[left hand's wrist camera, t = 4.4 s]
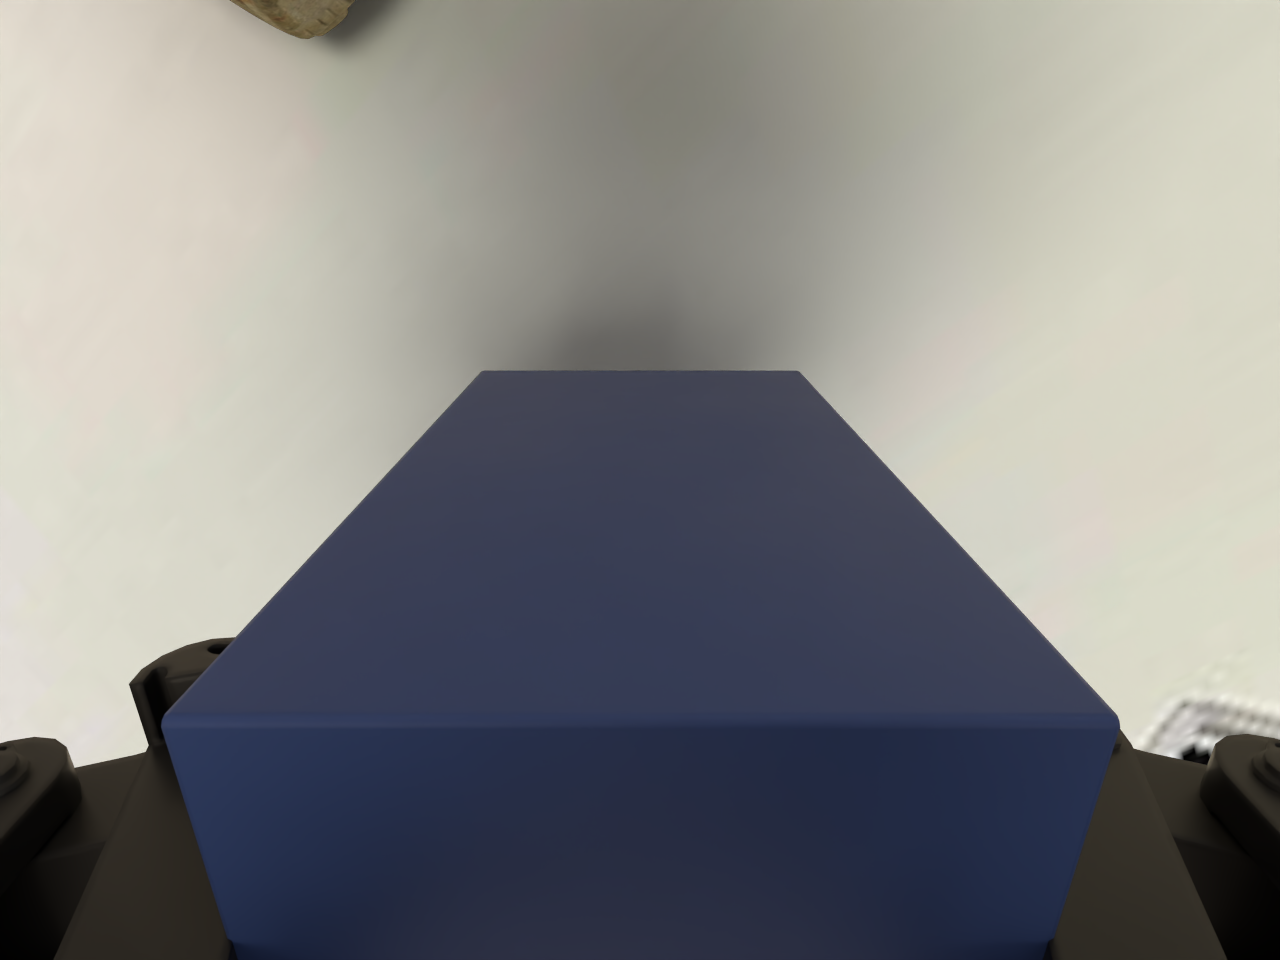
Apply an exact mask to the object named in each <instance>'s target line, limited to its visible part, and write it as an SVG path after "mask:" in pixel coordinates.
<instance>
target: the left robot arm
mask: <svg viewBox="0 0 1280 960" xmlns="http://www.w3.org/2000/svg"><path fill="white" fill-rule="evenodd" d="M235 638H236V637H234V638H219V639H210V640H206V641H202V642H198V643H194V644H190V645H186V646H184V647H182V648H179V649H177V650H175V651H172V652H170V653H168V654H165V655H163V656H161V657H160V658H158V659H157V660H155V661H154V662H152V663H151V664H149V665H147V666H146V667H144V668H143V669H142V670H141V671H140V672H139V673H138V674H137V675H136V677H135V678H134V679H133V680H132V681H131V682H130V683H129V686H130V689H131V692H132V695H133V698H134V701H135V704H136V707H137V710H138V713H139V716H140V720H141V723H142V726H143V729H144V732H145V735H146V738H147V741H148V744H149V746H148V748H147V750H146V752H144V753H140V754H137V755H133V756H128V757H123V758H119V759H114V760H109V761H105V762H100V763H95V764H91V765H86V766H82V767H77V768H74V765H73V763H72V760H71V758H70V755H69V752H68V750H67V747H66V746H64V745H63V744H62V743H60V742H59V741H57V740H56V739H51V738H40V737H31V738H25V739H19V740H13V741H7V742H4V743H0V960H238V959H237V956H236V953H235V949H234V946H233V943H232V941H231V940H229V939H227V936H226V932H225V929H224V926H223V923H222V920H221V917H220V913H219V910H218V907H217V904H216V901H215V897H214V894H213V891H212V888H211V885H210V881H209V878H208V875H207V872H206V869H205V865H204V862H203V859H202V856H201V853H200V850H199V846H198V843H197V840H196V837H195V834H194V830H193V827H192V824H191V821H190V818H189V814H188V811H187V808H186V805H185V802H184V798H183V795H182V792H181V789H180V786H179V783H178V779H177V776H176V773H175V770H174V767H173V763H172V760H171V757H170V754H169V751H168V747H167V744H166V741H165V738H164V735H163V731H162V728H161V724H162V719H163V717H164V714H165V713H166V712H167V711H168V710H169V709H170V708H171V707H172V706H173V705H174V703H175V702H176V701H177V700H178V699H179V698H180V697H181V696H182V695H183V694H184V693H185V692H186V691H187V689H188V688H189V687H190V686H191V685H192V684H193V683H194V682H195V681H196V680H197V679H198V678H199V676H200V675H201V674H202V673H203V672H204V671H205V670H206V669H207V668H208V667H209V666H210V665H211V663H212V662H213V661H214V660H215V659H216V658H217V657H218V656H219V655H220V654H221V653H222V652H223V651H224V649H225V648H226V647H227V646H228V645H229V644H230V643H231V642H232V641H233V640H234V639H235ZM1043 960H1280V740H1278V739H1275V738H1269V737H1263V736H1257V735H1251V734H1242V735H1231V736H1226V737H1225V738H1223V739H1222V740H1220V741H1219V742H1217V743H1216V744H1215V746H1214V749H1213V752H1212V754H1211V757H1210V759H1209V762H1208V765H1204V764H1199V763H1195V762H1190V761H1185V760H1181V759H1176V758H1171V757H1167V756H1162V755H1157V754H1153V753H1148V752H1144V751H1140V750H1137V749H1133V747H1132V745H1131V743H1130V742H1129V740H1128V739H1127V738H1126V736H1125V735H1124V734H1123V732H1122V731H1121V730H1120V729H1119V733H1118V736H1117V739H1116V742H1115V745H1114V748H1113V752H1112V755H1111V758H1110V761H1109V764H1108V768H1107V771H1106V774H1105V777H1104V780H1103V783H1102V787H1101V790H1100V793H1099V796H1098V799H1097V802H1096V806H1095V809H1094V812H1093V815H1092V818H1091V822H1090V825H1089V828H1088V831H1087V834H1086V837H1085V841H1084V844H1083V847H1082V850H1081V853H1080V856H1079V860H1078V863H1077V866H1076V869H1075V872H1074V876H1073V879H1072V882H1071V885H1070V888H1069V891H1068V895H1067V898H1066V901H1065V904H1064V907H1063V910H1062V914H1061V917H1060V920H1059V923H1058V926H1057V930H1056V933H1055V936H1054V938H1053V939H1051V940H1049V941H1048V944H1047V948H1046V951H1045V954H1044V957H1043Z"/></svg>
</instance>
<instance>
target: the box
mask: <svg viewBox="0 0 1280 960" xmlns="http://www.w3.org/2000/svg"><path fill="white" fill-rule="evenodd" d="M161 728H162V731H163V735H164V738H165V741H166V744H167V747H168V751H169V754H170V757H171V760H172V763H173V767H174V770H175V773H176V776H177V779H178V783H179V786H180V789H181V792H182V795H183V798H184V802H185V805H186V808H187V811H188V814H189V818H190V821H191V824H192V827H193V830H194V834H195V837H196V840H197V843H198V846H199V850H200V853H201V856H202V859H203V862H204V865H205V869H206V872H207V875H208V878H209V881H210V885H211V888H212V891H213V894H214V897H215V901H216V904H217V907H218V910H219V913H220V917H221V920H222V923H223V926H224V929H225V932H226V936H227V939H229V940H231V941H232V943H233V946H234V949H235V953H236V956H237V959H238V960H1043V957H1044V954H1045V951H1046V948H1047V944H1048V941H1049V940H1051V939H1053V938H1054V936H1055V933H1056V930H1057V926H1058V923H1059V920H1060V917H1061V914H1062V910H1063V907H1064V904H1065V901H1066V898H1067V895H1068V891H1069V888H1070V885H1071V882H1072V879H1073V876H1074V872H1075V869H1076V866H1077V863H1078V860H1079V856H1080V853H1081V850H1082V847H1083V844H1084V841H1085V837H1086V834H1087V831H1088V828H1089V825H1090V822H1091V818H1092V815H1093V812H1094V809H1095V806H1096V802H1097V799H1098V796H1099V793H1100V790H1101V787H1102V783H1103V780H1104V777H1105V774H1106V771H1107V768H1108V764H1109V761H1110V758H1111V755H1112V752H1113V748H1114V745H1115V742H1116V739H1117V736H1118V733H1119V729H1120V723H1119V719H1118V716H1117V715H1116V713H1115V712H1114V711H1113V710H1112V709H1111V708H1110V707H1109V706H1108V705H1107V704H1106V703H1105V702H1104V700H1103V699H1102V698H1101V697H1100V696H1099V695H1098V694H1097V693H1096V692H1095V691H1094V690H1093V689H1092V687H1091V686H1090V685H1089V684H1088V683H1087V682H1086V681H1085V680H1084V679H1083V678H1082V677H1081V676H1080V675H1079V673H1078V672H1077V671H1076V670H1075V669H1074V668H1073V667H1072V666H1071V665H1070V664H1069V663H1068V662H1067V660H1066V659H1065V658H1064V657H1063V656H1062V655H1061V654H1060V653H1059V652H1058V651H1057V650H1056V649H1055V648H1054V646H1053V645H1052V644H1051V643H1050V642H1049V641H1048V640H1047V639H1046V638H1045V637H1044V636H1043V635H1042V633H1041V632H1040V631H1039V630H1038V629H1037V628H1036V627H1035V626H1034V625H1033V624H1032V623H1031V622H1030V620H1029V619H1028V618H1027V617H1026V616H1025V615H1024V614H1023V613H1022V612H1021V611H1020V610H1019V609H1018V608H1017V606H1016V605H1015V604H1014V603H1013V602H1012V601H1011V600H1010V599H1009V598H1008V597H1007V596H1006V595H1005V593H1004V592H1003V591H1002V590H1001V589H1000V588H999V587H998V586H997V585H996V584H995V583H994V582H993V580H992V579H991V578H990V577H989V576H988V575H987V574H986V573H985V572H984V571H983V570H982V569H981V568H980V566H979V565H978V564H977V563H976V562H975V561H974V560H973V559H972V558H971V557H970V556H969V555H968V553H967V552H966V551H965V550H964V549H963V548H962V547H961V546H960V545H959V544H958V543H957V542H956V541H955V539H954V538H953V537H952V536H951V535H950V534H949V533H948V532H947V531H946V530H945V529H944V528H943V526H942V525H941V524H940V523H939V522H938V521H937V520H936V519H935V518H934V517H933V516H932V515H931V513H930V512H929V511H928V510H927V509H926V508H925V507H924V506H923V505H922V504H921V503H920V502H919V501H918V499H917V498H916V497H915V496H914V495H913V494H912V493H911V492H910V491H909V490H908V489H907V488H906V486H905V485H904V484H903V483H902V482H901V481H900V480H899V479H898V478H897V477H896V476H895V475H894V473H893V472H892V471H891V470H890V469H889V468H888V467H887V466H886V465H885V464H884V463H883V462H882V461H881V459H880V458H879V457H878V456H877V455H876V454H875V453H874V452H873V451H872V450H871V449H870V448H869V446H868V445H867V444H866V443H865V442H864V441H863V440H862V439H861V438H860V437H859V436H858V435H857V434H856V432H855V431H854V430H853V429H852V428H851V427H850V426H849V425H848V424H847V423H846V422H845V421H844V419H843V418H842V417H841V416H840V415H839V414H838V413H837V412H836V411H835V410H834V409H833V408H832V406H831V405H830V404H829V403H828V402H827V401H826V400H825V399H824V398H823V397H822V396H821V395H820V394H819V392H818V391H817V390H816V389H815V388H814V387H813V386H812V385H811V384H810V383H809V382H808V381H807V379H806V378H805V377H804V376H803V375H802V374H801V373H800V372H798V371H482V372H481V373H480V374H479V375H478V376H477V377H476V378H475V379H474V380H473V381H472V382H471V384H470V385H469V386H468V387H467V388H466V389H465V390H464V391H463V392H462V393H461V394H460V395H459V397H458V398H457V399H456V400H455V401H454V402H453V403H452V404H451V405H450V406H449V407H448V408H447V410H446V411H445V412H444V413H443V414H442V415H441V416H440V417H439V418H438V419H437V420H436V421H435V422H434V424H433V425H432V426H431V427H430V428H429V429H428V430H427V431H426V432H425V433H424V434H423V435H422V437H421V438H420V439H419V440H418V441H417V442H416V443H415V444H414V445H413V446H412V447H411V448H410V449H409V451H408V452H407V453H406V454H405V455H404V456H403V457H402V458H401V459H400V460H399V461H398V462H397V464H396V465H395V466H394V467H393V468H392V469H391V470H390V471H389V472H388V473H387V474H386V475H385V477H384V478H383V479H382V480H381V481H380V482H379V483H378V484H377V485H376V486H375V487H374V488H373V489H372V491H371V492H370V493H369V494H368V495H367V496H366V497H365V498H364V499H363V500H362V501H361V502H360V504H359V505H358V506H357V507H356V508H355V509H354V510H353V511H352V512H351V513H350V514H349V515H348V517H347V518H346V519H345V520H344V521H343V522H342V523H341V524H340V525H339V526H338V527H337V528H336V529H335V531H334V532H333V533H332V534H331V535H330V536H329V537H328V538H327V539H326V540H325V541H324V542H323V544H322V545H321V546H320V547H319V548H318V549H317V550H316V551H315V552H314V553H313V554H312V555H311V556H310V558H309V559H308V560H307V561H306V562H305V563H304V564H303V565H302V566H301V567H300V568H299V569H298V571H297V572H296V573H295V574H294V575H293V576H292V577H291V578H290V579H289V580H288V581H287V582H286V584H285V585H284V586H283V587H282V588H281V589H280V590H279V591H278V592H277V593H276V594H275V595H274V596H273V598H272V599H271V600H270V601H269V602H268V603H267V604H266V605H265V606H264V607H263V608H262V609H261V611H260V612H259V613H258V614H257V615H256V616H255V617H254V618H253V619H252V620H251V621H250V622H249V624H248V625H247V626H246V627H245V628H244V629H243V630H242V631H241V632H240V633H239V634H238V635H237V636H236V638H235V639H234V640H233V641H232V642H231V643H230V644H229V645H228V646H227V647H226V648H225V649H224V651H223V652H222V653H221V654H220V655H219V656H218V657H217V658H216V659H215V660H214V661H213V662H212V663H211V665H210V666H209V667H208V668H207V669H206V670H205V671H204V672H203V673H202V674H201V675H200V676H199V678H198V679H197V680H196V681H195V682H194V683H193V684H192V685H191V686H190V687H189V688H188V689H187V691H186V692H185V693H184V694H183V695H182V696H181V697H180V698H179V699H178V700H177V701H176V702H175V703H174V705H173V706H172V707H171V708H170V709H169V710H168V711H167V712H166V713H165V714H164V717H163V719H162V724H161Z"/></svg>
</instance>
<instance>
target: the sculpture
mask: <svg viewBox="0 0 1280 960" xmlns="http://www.w3.org/2000/svg"><path fill="white" fill-rule="evenodd" d="M230 1H232V2H233V3H235V4H237V5H238V6H240V7H241V8H243V9H244V10H246V11H248V12H249V13H251V14H253V15H254V16H256V17H258V18H259V19H261V20H263V21H265V22H266V23H268V24H270V25H272V26H274V27H275V28H277V29H279V30H282V31H284V32H286V33H288V34H290V35H293V36H296V37H298V38H303V39H309V38H312V37H314V36H322V35H324V34H326V33H327V32H329V31H330V30H332V29H333V28H334V27H336V26H337V25H338V24H339V23H340V22H341V21H342V20H343V19H344V18H345V17H346V16H347V14H348V9H347V8H348V7H349V6H351V5H352V3H353V2H354V1H355V0H230Z"/></svg>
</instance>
